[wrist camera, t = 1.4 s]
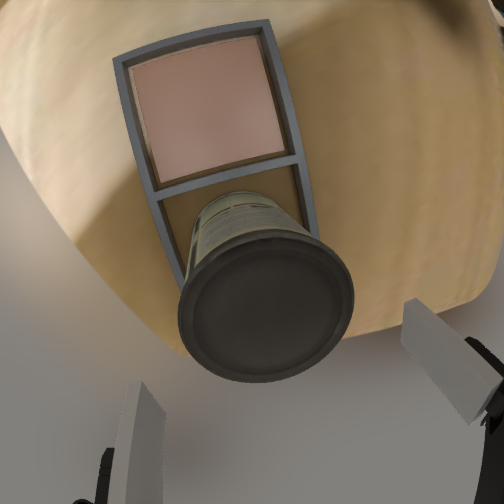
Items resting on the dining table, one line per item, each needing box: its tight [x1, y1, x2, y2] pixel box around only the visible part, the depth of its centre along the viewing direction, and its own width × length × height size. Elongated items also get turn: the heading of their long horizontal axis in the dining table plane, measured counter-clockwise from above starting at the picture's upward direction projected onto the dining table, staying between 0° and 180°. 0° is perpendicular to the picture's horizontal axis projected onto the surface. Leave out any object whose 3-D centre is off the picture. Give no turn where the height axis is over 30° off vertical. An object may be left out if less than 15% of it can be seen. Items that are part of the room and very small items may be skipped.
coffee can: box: [178, 191, 354, 383], centre depth 22 cm, size 10×10×14 cm
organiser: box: [112, 19, 320, 293], centre depth 24 cm, size 15×28×2 cm, turn 14°
